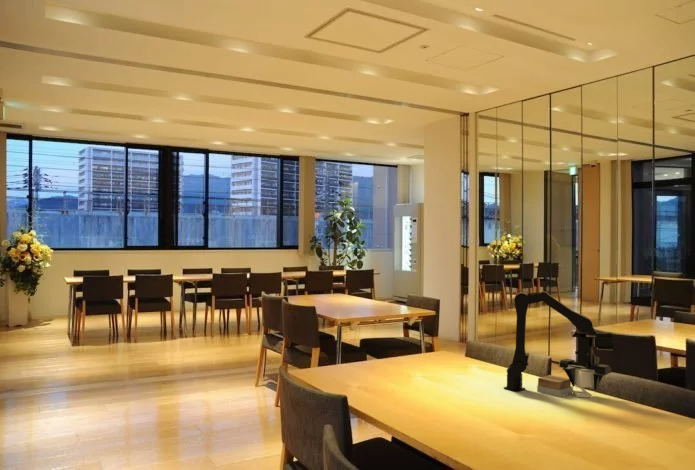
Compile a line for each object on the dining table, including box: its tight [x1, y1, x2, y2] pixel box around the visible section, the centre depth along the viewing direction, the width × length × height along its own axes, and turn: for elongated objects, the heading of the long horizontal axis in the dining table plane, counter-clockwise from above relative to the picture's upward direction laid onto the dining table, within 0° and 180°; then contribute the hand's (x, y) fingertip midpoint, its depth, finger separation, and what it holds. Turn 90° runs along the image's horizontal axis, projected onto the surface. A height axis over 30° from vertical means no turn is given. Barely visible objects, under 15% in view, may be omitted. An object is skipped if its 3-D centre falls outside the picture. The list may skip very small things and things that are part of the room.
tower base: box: [536, 385, 574, 398], centre depth 230 cm, size 10×10×3 cm
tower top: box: [537, 374, 572, 390], centre depth 231 cm, size 9×9×3 cm
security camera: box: [572, 368, 595, 398], centre depth 226 cm, size 6×7×10 cm
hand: (584, 388), depth 225 cm, fingers closed on security camera, 9 cm apart
